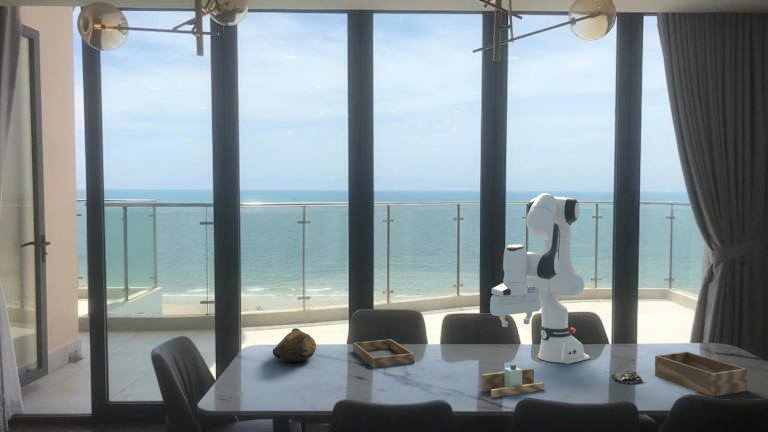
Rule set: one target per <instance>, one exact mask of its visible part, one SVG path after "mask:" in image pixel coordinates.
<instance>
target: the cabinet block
mask: <svg viewBox="0 0 768 432" xmlns="http://www.w3.org/2000/svg"><path fill="white" fill-rule="evenodd" d="M522 369H523V368H519V367H518V366H517V364H510V366H509V367H504V388H505V387H512V386H519V385H522Z"/></svg>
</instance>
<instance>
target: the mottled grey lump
mask: <svg viewBox="0 0 768 432" xmlns="http://www.w3.org/2000/svg"><path fill="white" fill-rule="evenodd" d="M642 377H643V376H640V374H638V372H636V371H635V370H631V369H629V370H626V372H614V373H612V374H611V380H612V381H613V382H614V383H617V384H620V385H621V384H622V385H629V386H630V385H631V386H632V385H641V384H642V381H643V379H642Z"/></svg>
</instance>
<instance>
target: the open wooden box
mask: <svg viewBox="0 0 768 432" xmlns="http://www.w3.org/2000/svg"><path fill="white" fill-rule="evenodd" d="M654 376H655V377H658V378H660V379H664V380H666V381H668V382H671V383H674V384H677V385H680V386H683V387H685V388H689V389H691V390H693V391H697V392H700V393H702V394H705V395H707V396H709V397H721V396H725V395H729V394H730V395H731V394H736V393H742V392H747V391H748V368H745V367H742V366H738V365H734V364H731V363H727V362H724V361H722V360H717V359H714V358H711V357H708V356H705V355H699V354H697V353H693V352H690V351H681V352H672V353H667V354H666V353H665V354H659V355H658V354H657V355H655V356H654Z"/></svg>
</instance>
